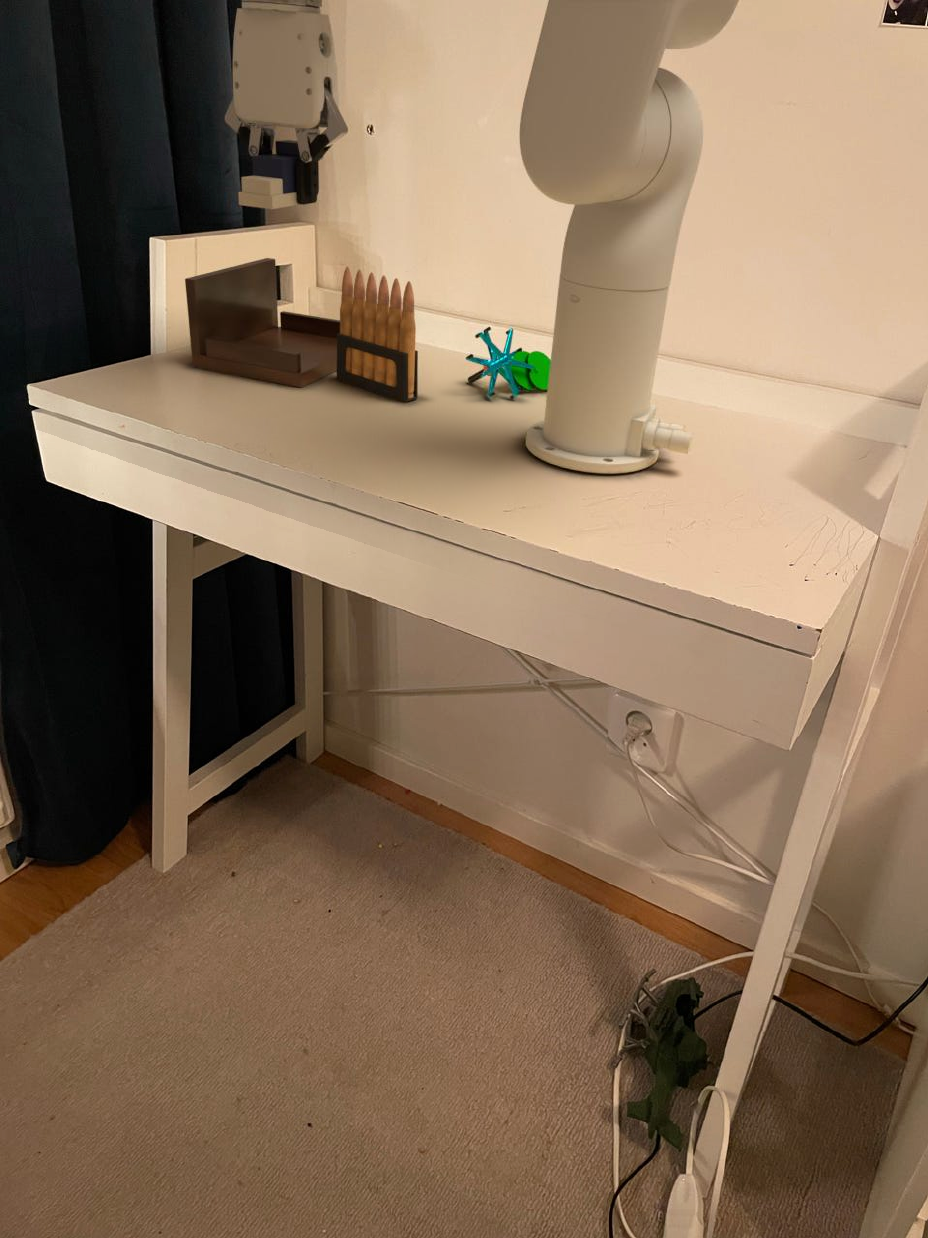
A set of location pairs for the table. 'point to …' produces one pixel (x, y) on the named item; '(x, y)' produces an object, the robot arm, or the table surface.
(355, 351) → the ammunition clip
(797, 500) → the table surface
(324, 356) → the wooden book end
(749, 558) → the table surface
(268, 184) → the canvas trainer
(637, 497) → the table surface
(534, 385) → the stick construction toy
